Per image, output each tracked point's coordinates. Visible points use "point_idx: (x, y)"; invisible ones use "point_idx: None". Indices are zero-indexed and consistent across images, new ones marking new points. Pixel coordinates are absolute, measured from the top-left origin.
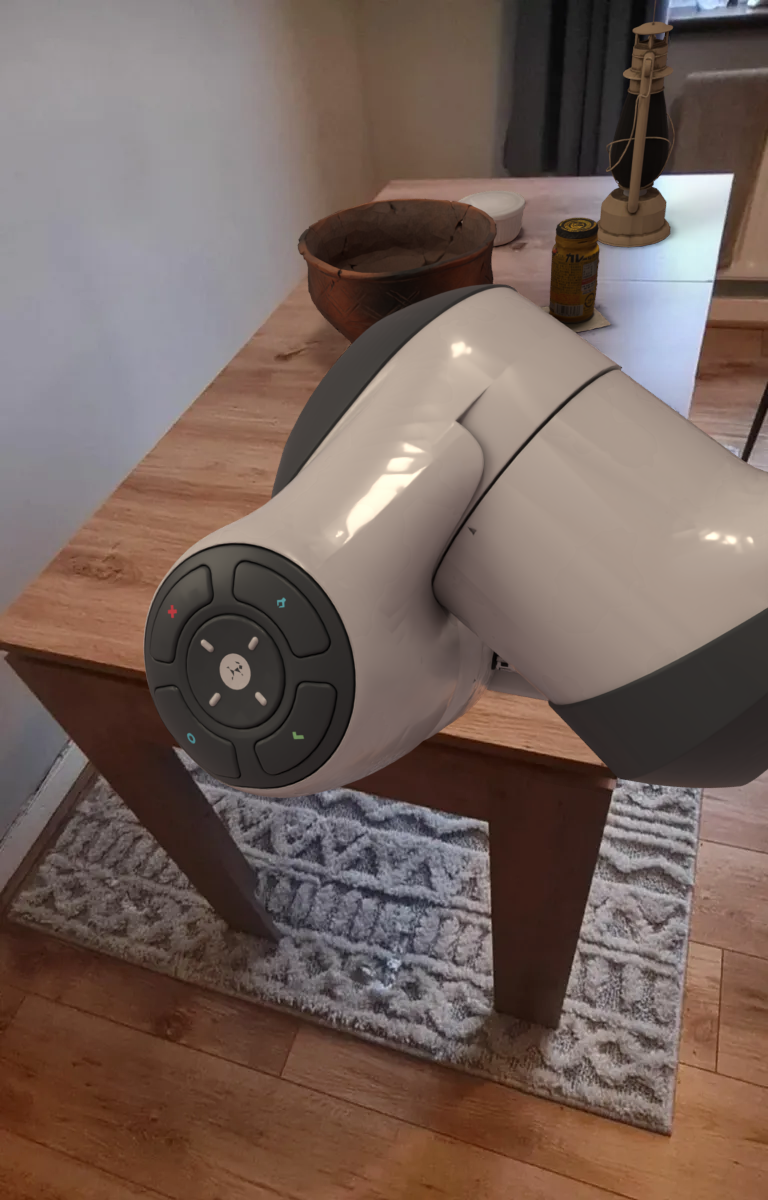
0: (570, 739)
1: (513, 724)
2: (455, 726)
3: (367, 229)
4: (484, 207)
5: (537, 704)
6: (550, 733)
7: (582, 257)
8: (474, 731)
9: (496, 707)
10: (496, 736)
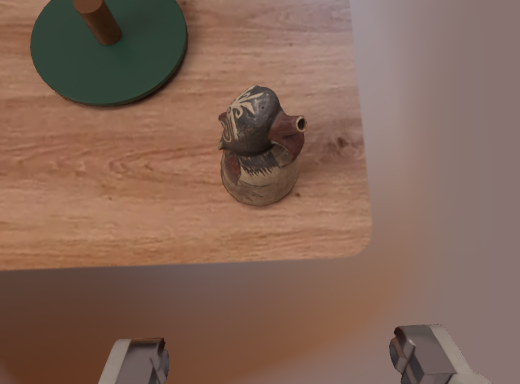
0: (338, 242)
1: (288, 240)
2: (240, 256)
3: None
4: None
5: (302, 213)
6: (321, 240)
7: None
8: (258, 257)
9: (269, 226)
10: (278, 257)
